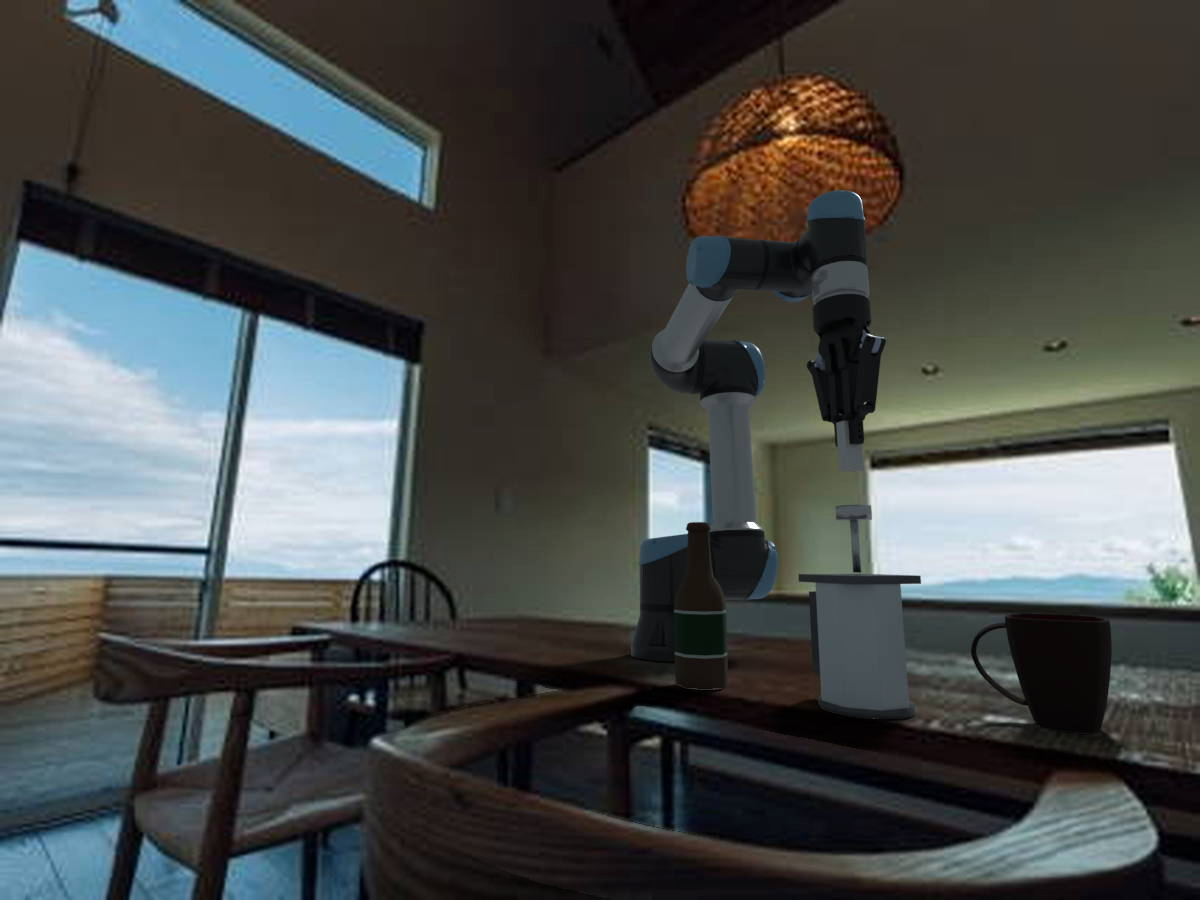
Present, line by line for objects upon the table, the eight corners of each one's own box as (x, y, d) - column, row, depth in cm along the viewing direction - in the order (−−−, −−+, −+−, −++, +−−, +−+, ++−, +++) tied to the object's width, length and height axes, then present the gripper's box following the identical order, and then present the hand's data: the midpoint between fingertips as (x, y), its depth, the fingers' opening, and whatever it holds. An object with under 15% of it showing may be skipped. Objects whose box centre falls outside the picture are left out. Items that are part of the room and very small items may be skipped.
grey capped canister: (785, 698, 87) (780, 573, 90) (852, 692, 91) (845, 573, 94) (862, 723, 74) (853, 576, 77) (936, 715, 78) (925, 575, 81)
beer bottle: (696, 679, 101) (693, 524, 105) (739, 686, 95) (734, 522, 99) (664, 686, 95) (662, 522, 99) (707, 693, 90) (703, 520, 94)
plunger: (831, 572, 85) (828, 506, 87) (858, 572, 87) (854, 507, 88) (855, 572, 81) (851, 504, 83) (883, 572, 83) (878, 505, 84)
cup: (1124, 744, 66) (1109, 623, 68) (969, 723, 74) (960, 615, 76) (1123, 725, 74) (1110, 616, 76) (983, 707, 82) (974, 610, 84)
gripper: (788, 314, 95) (796, 475, 91) (852, 279, 83) (864, 461, 79) (830, 321, 97) (839, 477, 93) (898, 287, 85) (912, 465, 81)
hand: (851, 470), depth 86 cm, fingers closed
